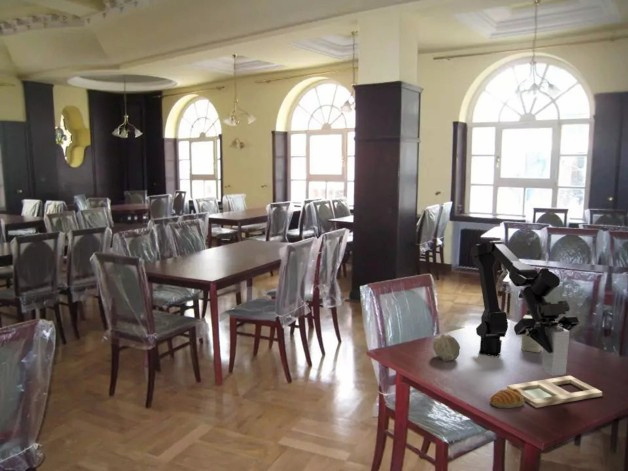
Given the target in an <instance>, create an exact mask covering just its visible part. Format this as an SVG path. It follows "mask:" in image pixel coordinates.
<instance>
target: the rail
mask: <svg viewBox="0 0 628 471" xmlns="http://www.w3.org/2000/svg"><path fill="white" fill-rule="evenodd" d="M565 384H571V385H573V386H574V387H577V388H579V389H580V391H574V392H570V391H567V390H565V389H564V388H562V387H560V386H561V385H565ZM510 388H513V389H517V390H519V391H520V392H521V394H522V396H523V399H524V401H525V402H527V404H529V405H531V406H533V407H535V408H542V407H546V406H552V405H559V404H564V403H569V402H575V401H580V400H582V401H583V400H585V399H592V398H598V397H603V391H601V390H600V389H598V388H596V387H593V386H592V385H590V384H588V383H586V382H583V381H582V380H580V379H578V378H576V377H574V376H572V375H565V376H560V377H553V378H546V379H539V380H533V381H528V382H521V383H514V384H507V385H506V389H510ZM581 390H582V391H581Z"/></svg>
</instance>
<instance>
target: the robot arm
mask: <svg viewBox="0 0 628 471" xmlns="http://www.w3.org/2000/svg"><path fill="white" fill-rule="evenodd" d="M469 253H470V256H471V260H472V263H473V265H474V266H475V267H476V268H477V269H478V273H479V274H478V275H479V282H480V286H481V294H482V300H483V309H484V310H483V312H482V315H481V317H480V321H481V323H480V324H478V326H477V327H476V329H475V332H476V335H477V336H478V337H480V341H479V342H480V346H479V351H478V353H479V354H481V355H487V356H491V357H499V355H500V354H501V352H502V344H503V343H502V340H501V338H506V335H507V332H508V328H509V322H508V314H507V312H505V311H503V310H502V309H501V308H500V304H499V297H498V292H497V285H496V279H495V278H496V277H495V272H494V266H495V264H496V261H499V263H500V264H501V265H502V266H503V267H504V268H505V269H506V270H507V271H508V278H509V279H510V281H511V282H512V284H513V286H515V287H516V288H517V287H518V288H519V287H524V289H520V292H519V294H518V298H519V299H524V300H523V301H524V303H525V304H526V306H527V309H528V310H527V311H526V315H530V316H532V318H527V319H523V318H521V319H520V320H519V321H518V322H517V323H515V325H514V327H513V330H514V331H513V332H514V334H515V335H516V336H522V335H525V333H526V330H527V329H528V332H529V333H528V334H527V337H531V338H532V339H533V340H534V341H536V342H537V343H538V344H539V345H541V348H542V349H543V348H544V349H545V350H546V351H547V352H548V353H552V349H551V346H550V344H549V342H548V339H547V337H546V335H545V327H551V326H560V327H562V328H564V329H566V330H568V331H572V330H573V329H574V328H576V327H577V326H578V325H579V324H580V323H581V322H580V320H579V318H578V317H577V316H575V315H573V314H572V315H567V312H570V309H571V308H570V304H569V303H568V301H567V300H565V299H564V300H559V301H557V303H552V302H549V301H547V299H546V297H548V296H549V295H550V294H551V293H552V292H553V291H555V290H556V289H557V287H559V286H560V284H561V280H560V277H559V276H557V274H555V272H552V271H550V269H549V268H547V267H544V268H540V270H539V271H538V270H537V269H536V268H535V267H533V266H531V265H530V264H528V263H525V262H522V261H521V260H520V259H519V258H518V257H517V256H516V255H515V254H514V253H513V252H512V251H511V250H510V249H509V248H508V247H507V246H506V245H505V242H504V241H502V240H490V241H487V242H484V243H481V244H479V243H477V244H473V246H472V247H471V248H470V250H469ZM560 315H563V316H562V317H561V318H560ZM558 318H559V320H556V319H558Z"/></svg>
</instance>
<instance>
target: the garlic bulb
mask: <svg viewBox="0 0 628 471" xmlns="http://www.w3.org/2000/svg"><path fill="white" fill-rule="evenodd" d="M432 343H433V346H432V347H433V350H434V353H435V355H436V356H438V357H439V358H440V359H441V360H443V361H446V362H450V361H455V360H457V358H458V357H459V356H460V349H461V345H460V343H459V342H458V341H457V339H456V338H455V337H454V336H452V335H451V334H447V333H442V334H440V335H438V336H437V337H435V339H434V341H433V342H432Z"/></svg>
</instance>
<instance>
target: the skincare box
mask: <svg viewBox="0 0 628 471" xmlns="http://www.w3.org/2000/svg"><path fill="white" fill-rule="evenodd" d="M527 318H532V316H531V315H528V314H524V315H523V317H522V319H527ZM528 333H529V332H528V329H527V330H526V333H525V335H521V349H520V350H522V351H527V352H532V353H537V354H539V353H540V352H541V350H542V346H541V345H539V344H538V343H537V342H536V341H534V340H533V339H532V338H531V337H527V334H528Z"/></svg>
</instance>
